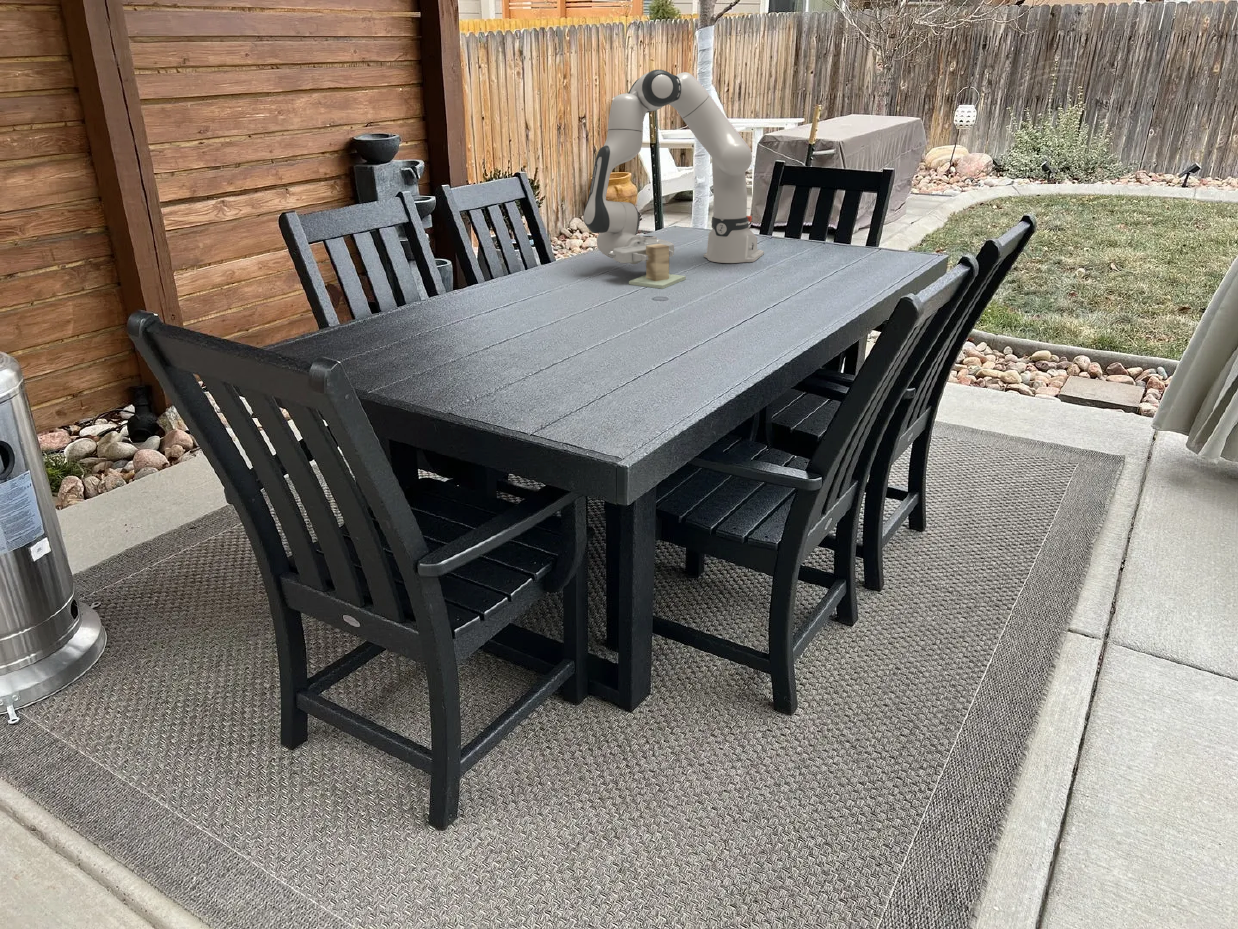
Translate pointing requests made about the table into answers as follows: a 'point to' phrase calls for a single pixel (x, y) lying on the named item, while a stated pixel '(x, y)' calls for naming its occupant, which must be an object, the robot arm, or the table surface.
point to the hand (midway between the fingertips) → (658, 256)
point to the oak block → (657, 262)
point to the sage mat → (657, 284)
